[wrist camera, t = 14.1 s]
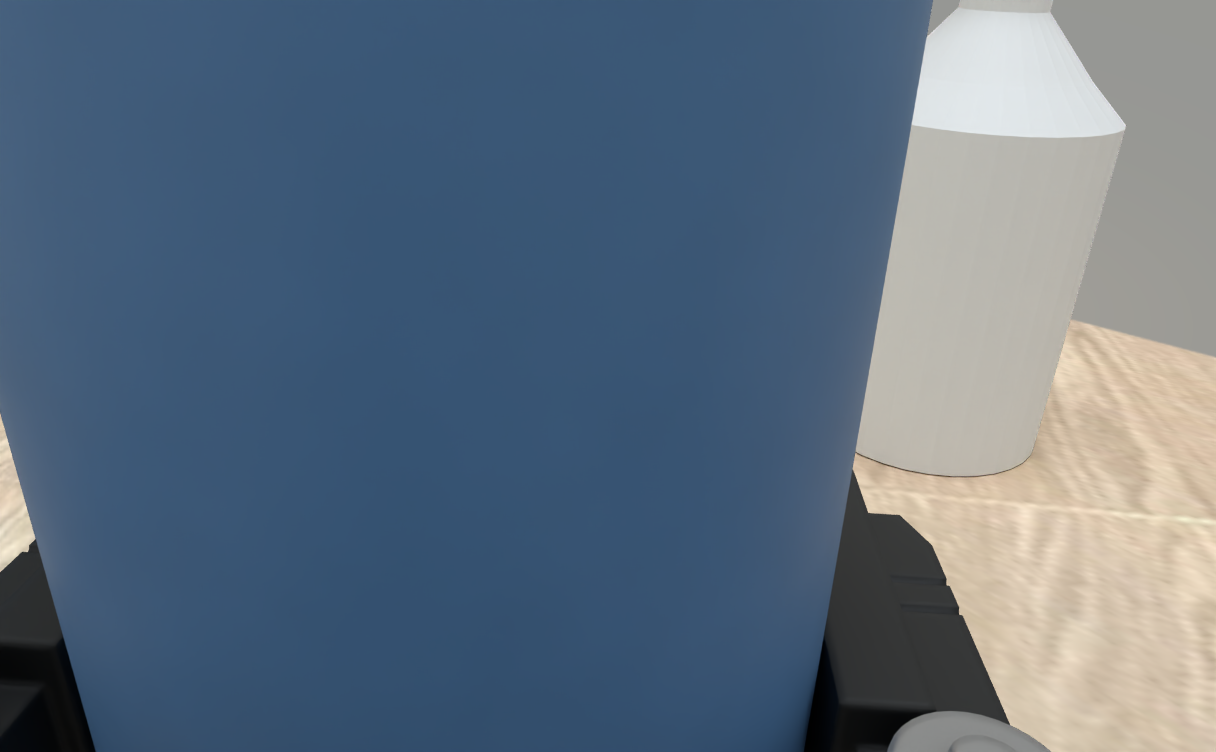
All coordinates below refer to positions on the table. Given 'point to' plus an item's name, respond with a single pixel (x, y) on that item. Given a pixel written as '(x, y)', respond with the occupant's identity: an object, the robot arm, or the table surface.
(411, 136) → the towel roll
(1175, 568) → the table surface
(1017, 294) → the bottle
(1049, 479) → the table surface
